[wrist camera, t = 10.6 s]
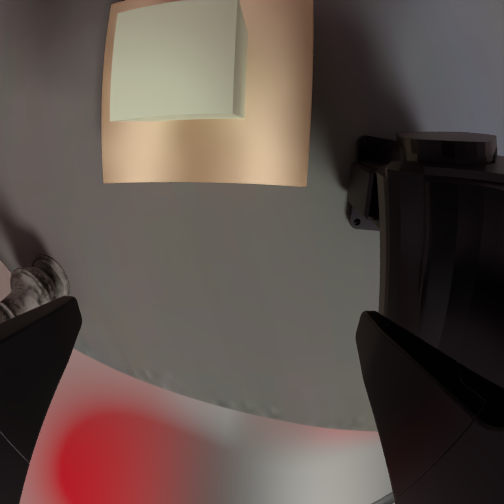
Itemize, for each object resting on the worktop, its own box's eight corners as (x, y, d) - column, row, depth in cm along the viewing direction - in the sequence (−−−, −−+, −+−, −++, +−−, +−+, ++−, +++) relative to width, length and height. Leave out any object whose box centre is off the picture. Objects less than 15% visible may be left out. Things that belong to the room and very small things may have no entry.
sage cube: (248, 33, 12) (238, -5, 8) (244, 119, 14) (232, 113, 10) (158, 40, 13) (117, 13, 8) (154, 121, 15) (109, 121, 10)
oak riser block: (305, 11, 14) (313, -13, 11) (299, 175, 19) (306, 186, 16) (136, 20, 15) (111, 4, 11) (131, 172, 20) (103, 183, 16)
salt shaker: (48, 242, 23) (-41, 309, 12) (81, 293, 24) (8, 377, 13) (23, 266, 24) (-51, 328, 13) (53, 311, 26) (-10, 383, 15)
